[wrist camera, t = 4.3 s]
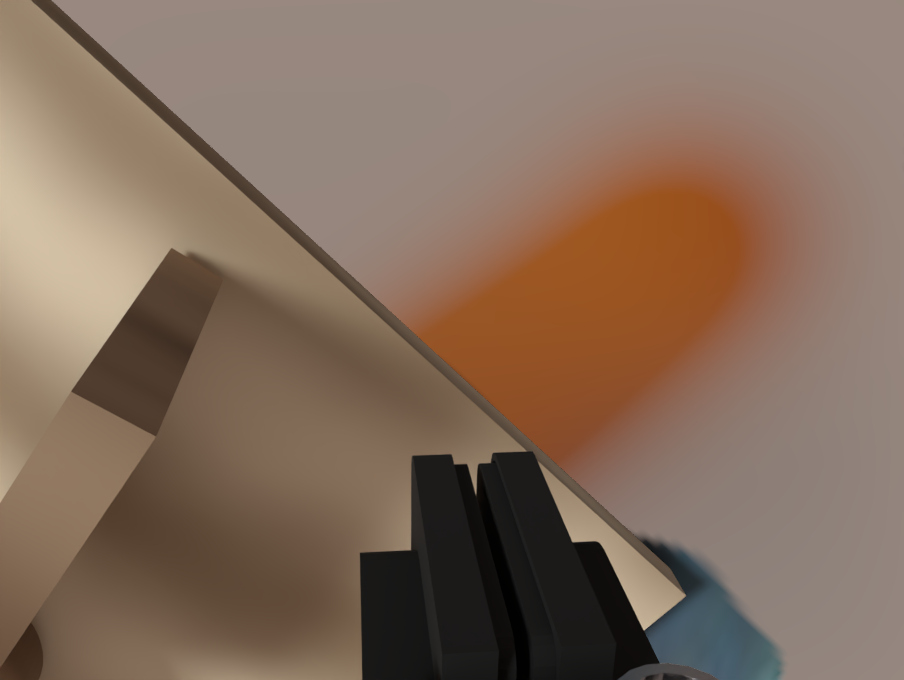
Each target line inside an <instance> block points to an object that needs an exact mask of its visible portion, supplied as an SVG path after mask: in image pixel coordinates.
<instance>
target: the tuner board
mask: <svg viewBox="0 0 904 680" xmlns="http://www.w3.org/2000/svg"><path fill="white" fill-rule="evenodd" d="M171 248H173V249H175V250H176V251H178V252H179V253H181V254H183V255H184V256H186V257H188V258H189V259H191V260H193V261H194V262H196V263H198V264H199V265H201V266H203V267H204V268H206V269H207V270H209V271H211V272H212V273H214V274H216V275H217V276H219V277H221V278H222V279H223V282H222V284H221V286H220V289H219V291H218V293H217V296H216V298H215V300H214V303H213V305H212V307H211V310H210V312H209V314H208V317H207V319H206V322H205V324H204V326H203V329H202V331H201V333H200V336H199V338H198V340H197V343H196V345H195V347H194V350H193V352H192V354H191V357H190V359H189V361H188V364H187V366H186V368H185V371H184V373H183V375H182V378H181V380H180V382H179V385H178V387H177V389H176V392H175V394H174V396H173V399H172V401H171V403H170V406H169V408H168V410H167V413H166V415H165V417H164V420H163V422H162V424H161V427H160V429H159V431H158V434H157V436H156V438H155V439H154V441H153V442H152V444H151V445H150V447H149V448H148V450H147V451H146V453H145V454H144V456H143V457H142V459H141V460H140V461H139V463H138V464H137V466H136V467H135V469H134V470H133V472H132V473H131V475H130V476H129V478H128V479H127V481H126V482H125V484H124V485H123V487H122V488H121V490H120V491H119V493H118V494H117V496H116V497H115V499H114V500H113V501H112V503H111V504H110V506H109V507H108V509H107V510H106V512H105V513H104V515H103V516H102V518H101V519H100V521H99V522H98V524H97V525H96V527H95V528H94V530H93V531H92V533H91V534H90V536H89V537H88V538H87V540H86V541H85V543H84V544H83V546H82V547H81V549H80V550H79V552H78V553H77V555H76V556H75V558H74V559H73V561H72V562H71V564H70V565H69V567H68V568H67V570H66V571H65V573H64V574H63V576H62V577H61V578H60V580H59V581H58V583H57V584H56V586H55V587H54V589H53V590H52V592H51V593H50V595H49V596H48V598H47V599H46V601H45V602H44V604H43V605H42V607H41V608H40V610H39V611H38V613H37V614H36V615H35V617H34V618H33V620H32V621H31V623H32V625H33V626H34V628H35V630H36V632H37V634H38V636H39V639H40V642H41V645H42V651H43V666H42V671H41V675H40V678H39V680H362V641H361V589H360V553H361V552H382V551H402V550H411V461H412V456H414V455H442V454H452V457H453V461H454V464H467V465H468V468H469V472H470V475H471V479H472V483H473V486H474V490H475V494H476V488H477V468H478V464H479V463H491V458H492V454H493V453H497V452H524V451H533V453H534V454H535V457H536V459H537V461H538V463H539V466H540V468H541V470H542V473H543V475H544V477H545V480H546V482H547V484H548V487H549V489H550V491H551V494H552V496H553V498H554V500H555V503H556V505H557V507H558V510H559V512H560V514H561V517H562V519H563V521H564V524H565V526H566V528H567V531H568V533H569V535H570V537H571V540H572V542H587V541H597V542H599V543H600V544H601V545H602V547H603V548H604V550H605V552H606V554H607V556H608V558H609V560H610V562H611V564H612V566H613V569H614V571H615V573H616V575H617V577H618V579H619V581H620V583H621V585H622V587H623V589H624V591H625V593H626V595H627V597H628V599H629V601H630V603H631V605H632V608H633V610H634V612H635V614H636V616H637V618H638V620H639V622H640V624H641V626H642V628H643V630H645V629H646V628H648V627H649V626H650V625H651V624H653V623H654V622H655V621H656V620H657V619H659V618H660V617H661V616H662V615H664V614H665V613H666V612H667V611H668V610H670V609H671V608H672V607H673V606H675V605H676V604H677V603H678V602H679V601H681V600H682V599H683V598H684V597H686V595H685V593H684V591H683V590H682V588H681V586H680V584H679V583H678V581H677V579H676V578H675V576H674V574H673V573H672V571H671V569H670V568H669V567H668V566H667V565H666V564H665V563H664V562H663V561H661V560H660V559H659V558H658V557H657V556H656V555H655V554H654V553H653V552H652V551H651V550H650V549H648V548H647V547H646V546H645V545H644V544H643V543H642V542H641V541H640V540H639V539H638V538H636V537H635V536H634V535H633V534H632V533H631V532H630V531H629V530H628V529H627V528H626V527H624V526H623V525H622V524H621V523H620V522H619V521H618V520H617V519H616V518H615V517H614V516H612V515H611V514H610V513H609V512H608V511H607V510H606V509H605V508H604V507H603V506H602V505H600V504H599V503H598V502H597V501H596V500H595V499H594V498H593V497H592V496H591V495H590V494H588V493H587V492H586V491H585V490H584V489H583V488H582V487H581V486H580V485H579V484H577V483H576V482H575V481H574V480H573V479H572V478H571V477H570V476H569V475H568V474H567V473H566V472H565V471H563V470H562V469H561V468H560V467H559V466H558V465H557V464H556V463H555V462H554V461H552V460H551V459H550V458H549V457H548V456H547V455H546V454H545V453H544V452H543V451H542V450H541V449H539V448H538V447H537V446H536V445H535V444H534V443H533V442H532V441H531V440H530V439H529V438H527V437H526V436H525V435H524V434H523V433H522V432H521V431H520V430H519V429H518V428H517V427H515V426H514V425H513V424H512V423H511V422H510V421H509V420H508V419H507V418H506V417H505V416H503V415H502V414H501V413H500V412H499V411H498V410H497V409H496V408H495V407H494V406H493V405H491V404H490V403H489V402H488V401H487V400H486V399H485V398H484V397H483V396H482V395H481V394H480V393H478V392H477V391H476V390H475V389H474V388H473V387H472V386H471V385H470V384H469V383H468V382H466V381H465V380H464V379H463V378H462V377H461V376H460V375H459V374H458V373H457V372H456V371H454V370H453V369H452V368H451V367H450V366H449V365H448V364H447V363H446V362H445V361H444V360H442V359H441V358H440V357H439V356H438V355H437V354H436V353H435V352H434V351H433V350H431V349H430V348H429V347H428V346H427V345H426V344H425V343H424V342H423V341H422V340H421V339H420V338H418V337H417V336H416V335H415V334H414V333H413V332H412V331H411V330H410V329H409V328H408V327H406V326H405V325H404V324H403V323H402V322H401V321H400V320H399V319H398V318H397V317H396V316H394V315H393V314H392V313H391V312H390V311H389V310H388V309H387V308H386V307H385V306H384V305H383V304H381V303H380V302H379V301H378V300H377V299H376V298H375V297H374V296H373V295H372V294H370V293H369V292H368V291H367V290H366V289H365V288H364V287H363V286H362V285H361V284H360V283H359V282H357V281H356V280H355V279H354V278H353V277H352V276H351V275H350V274H349V273H348V272H347V271H345V270H344V269H343V268H342V267H341V266H340V265H339V264H338V263H337V262H336V261H335V260H333V259H332V258H331V257H330V256H329V255H328V254H327V253H326V252H325V251H324V250H322V249H321V248H320V247H319V246H318V245H317V244H316V243H315V242H314V241H313V240H312V239H311V238H310V237H308V236H307V235H306V234H305V233H304V232H303V231H302V230H301V229H300V228H299V227H298V226H296V225H295V224H294V223H293V222H292V221H291V220H290V219H289V218H288V217H287V216H286V215H284V214H283V213H282V212H281V211H280V210H279V209H278V208H277V207H275V206H274V205H273V204H272V203H271V202H270V201H269V200H268V199H267V198H266V197H265V196H264V195H263V194H262V193H260V192H259V191H258V190H257V189H256V188H255V187H254V186H253V185H252V184H251V183H249V182H248V181H247V180H246V179H245V178H244V177H243V176H242V175H241V174H240V173H239V172H238V171H236V170H235V169H234V168H233V167H232V166H231V165H230V164H229V163H228V162H227V161H225V160H224V159H223V158H222V157H221V156H220V155H219V154H218V153H217V152H216V151H215V150H214V149H213V148H211V147H210V146H209V145H208V144H207V143H206V142H205V141H204V140H203V139H202V138H201V137H199V136H198V135H197V134H196V133H195V132H194V131H193V130H192V129H191V128H190V127H188V126H187V125H186V124H185V123H184V122H183V121H182V120H181V119H180V118H179V117H178V116H177V115H175V114H174V113H173V112H172V111H171V110H170V109H169V108H168V107H167V106H166V105H165V104H163V103H162V102H161V101H160V100H159V99H158V98H157V97H156V96H155V95H154V94H153V93H151V92H150V91H149V90H148V89H147V88H146V87H145V86H144V85H143V84H142V83H141V82H139V81H138V80H137V79H136V78H135V77H134V76H133V75H132V74H131V73H130V72H128V71H127V70H126V69H125V68H124V67H123V66H122V65H121V64H120V63H119V62H118V61H117V60H115V59H114V58H113V57H112V56H111V55H110V54H109V53H108V52H107V51H106V50H105V49H104V48H102V47H101V46H100V45H99V44H98V43H97V42H96V41H95V40H94V39H93V38H91V37H90V36H89V35H88V34H87V33H86V32H85V31H84V30H83V29H82V28H81V27H79V26H78V25H77V24H76V23H75V22H74V21H73V20H72V19H71V18H70V17H69V16H68V15H66V14H65V13H64V12H63V11H62V10H61V9H60V8H59V7H58V6H57V5H56V4H54V3H53V2H52V1H51V0H0V502H1V501H2V499H3V498H4V496H5V495H6V493H7V491H8V490H9V488H10V487H11V485H12V484H13V482H14V480H15V479H16V477H17V476H18V474H19V472H20V471H21V469H22V468H23V466H24V465H25V463H26V461H27V460H28V458H29V457H30V455H31V454H32V452H33V450H34V449H35V447H36V446H37V444H38V443H39V441H40V439H41V438H42V436H43V435H44V433H45V432H46V430H47V428H48V427H49V425H50V424H51V422H52V420H53V419H54V417H55V416H56V414H57V413H58V411H59V409H60V408H61V406H62V405H63V403H64V402H65V400H66V398H67V397H68V395H69V394H70V392H71V391H72V389H73V388H74V386H75V385H76V384H77V382H78V381H79V379H80V378H81V376H82V375H83V373H84V372H85V371H86V369H87V368H88V366H89V365H90V363H91V362H92V361H93V359H94V358H95V356H96V355H97V353H98V352H99V351H100V349H101V348H102V346H103V345H104V343H105V342H106V341H107V339H108V338H109V336H110V335H111V333H112V332H113V331H114V329H115V328H116V326H117V325H118V323H119V322H120V321H121V319H122V318H123V316H124V315H125V313H126V312H127V311H128V309H129V308H130V306H131V305H132V303H133V302H134V301H135V299H136V298H137V296H138V295H139V293H140V292H141V291H142V289H143V288H144V286H145V285H146V283H147V282H148V281H149V279H150V278H151V276H152V275H153V273H154V272H155V271H156V269H157V268H158V266H159V265H160V263H161V262H162V261H163V259H164V258H165V256H166V255H167V253H168V252H169V251H170V249H171Z"/></svg>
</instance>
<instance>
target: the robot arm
mask: <svg viewBox="0 0 904 680" xmlns="http://www.w3.org/2000/svg"><path fill="white" fill-rule="evenodd" d="M360 589H361V641H362V680H718V679H717V678H715V677H714V676H712V675H710V674H708V673H705V672H703V671H700V670H697V669H694V668H692V667H689V666H683V665H676V664H670V663H661V664H660V663H659V661H658V659H657V657H656V655H655V653H654V651H653V649H652V647H651V644H650V642H649V640H648V638H647V636H646V634H645V632H644V630H643V628H642V626H641V624H640V622H639V620H638V618H637V616H636V614H635V612H634V610H633V608H632V605H631V603H630V601H629V599H628V597H627V595H626V593H625V591H624V589H623V587H622V585H621V583H620V581H619V579H618V577H617V575H616V573H615V571H614V569H613V566H612V564H611V562H610V560H609V558H608V556H607V554H606V552H605V550H604V548H603V547H602V545H601V544H600V543H599V542H597V541H587V542H572V540H571V537H570V535H569V533H568V531H567V528H566V526H565V524H564V521H563V519H562V517H561V514H560V512H559V510H558V507H557V505H556V503H555V500H554V498H553V496H552V494H551V491H550V489H549V487H548V484H547V482H546V480H545V477H544V475H543V473H542V470H541V468H540V466H539V463H538V461H537V459H536V457H535V454H534V453H533V451H524V452H497V453H493V454H492V458H491V463H479V464H478V468H477V488H476V494H475V490H474V486H473V483H472V479H471V475H470V472H469V468H468V465H467V464H454V461H453V457H452V454H442V455H414V456H412V461H411V550H402V551H382V552H361V553H360Z"/></svg>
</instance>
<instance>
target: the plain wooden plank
mask: <svg viewBox="0 0 904 680" xmlns="http://www.w3.org/2000/svg"><path fill="white" fill-rule="evenodd" d="M222 282H223V279H222V278H221V277H219V276H217V275H216V274H214V273H212V272H211V271H209V270H207V269H206V268H204V267H203V266H201V265H199V264H198V263H196V262H194V261H193V260H191V259H189V258H188V257H186V256H184V255H183V254H181V253H179V252H178V251H176V250H175V249H173V248H171V249H170V251H169V252H168V253H167V255H166V256H165V258H164V259H163V261H162V262H161V263H160V265H159V266H158V268H157V269H156V271H155V272H154V273H153V275H152V276H151V278H150V279H149V281H148V282H147V283H146V285H145V286H144V288H143V289H142V291H141V292H140V293H139V295H138V296H137V298H136V299H135V301H134V302H133V303H132V305H131V306H130V308H129V309H128V311H127V312H126V313H125V315H124V316H123V318H122V319H121V321H120V322H119V323H118V325H117V326H116V328H115V329H114V331H113V332H112V333H111V335H110V336H109V338H108V339H107V341H106V342H105V343H104V345H103V346H102V348H101V349H100V351H99V352H98V353H97V355H96V356H95V358H94V359H93V361H92V362H91V363H90V365H89V366H88V368H87V369H86V371H85V372H84V373H83V375H82V376H81V378H80V379H79V381H78V382H77V384H76V385H75V386H74V388H73V389H72V391H71V392H70V394H69V395H68V397H67V398H66V400H65V402H64V403H63V405H62V406H61V408H60V409H59V411H58V413H57V414H56V416H55V417H54V419H53V420H52V422H51V424H50V425H49V427H48V428H47V430H46V432H45V433H44V435H43V436H42V438H41V439H40V441H39V443H38V444H37V446H36V447H35V449H34V450H33V452H32V454H31V455H30V457H29V458H28V460H27V461H26V463H25V465H24V466H23V468H22V469H21V471H20V472H19V474H18V476H17V477H16V479H15V480H14V482H13V484H12V485H11V487H10V488H9V490H8V491H7V493H6V495H5V496H4V498H3V499H2V501H1V502H0V680H39V678H40V675H41V671H42V666H43V651H42V645H41V642H40V639H39V636H38V634H37V632H36V630H35V628H34V626H33V625H32V623H31V621H32V620H33V618H34V617H35V615H36V614H37V613H38V611H39V610H40V608H41V607H42V605H43V604H44V602H45V601H46V599H47V598H48V596H49V595H50V593H51V592H52V590H53V589H54V587H55V586H56V584H57V583H58V581H59V580H60V578H61V577H62V576H63V574H64V573H65V571H66V570H67V568H68V567H69V565H70V564H71V562H72V561H73V559H74V558H75V556H76V555H77V553H78V552H79V550H80V549H81V547H82V546H83V544H84V543H85V541H86V540H87V538H88V537H89V536H90V534H91V533H92V531H93V530H94V528H95V527H96V525H97V524H98V522H99V521H100V519H101V518H102V516H103V515H104V513H105V512H106V510H107V509H108V507H109V506H110V504H111V503H112V501H113V500H114V499H115V497H116V496H117V494H118V493H119V491H120V490H121V488H122V487H123V485H124V484H125V482H126V481H127V479H128V478H129V476H130V475H131V473H132V472H133V470H134V469H135V467H136V466H137V464H138V463H139V461H140V460H141V459H142V457H143V456H144V454H145V453H146V451H147V450H148V448H149V447H150V445H151V444H152V442H153V441H154V439H155V438H156V436H157V434H158V431H159V429H160V427H161V424H162V422H163V420H164V417H165V415H166V413H167V410H168V408H169V406H170V403H171V401H172V399H173V396H174V394H175V392H176V389H177V387H178V385H179V382H180V380H181V378H182V375H183V373H184V371H185V368H186V366H187V364H188V361H189V359H190V357H191V354H192V352H193V350H194V347H195V345H196V343H197V340H198V338H199V336H200V333H201V331H202V329H203V326H204V324H205V322H206V319H207V317H208V314H209V312H210V310H211V307H212V305H213V303H214V300H215V298H216V296H217V293H218V291H219V289H220V286H221V284H222Z"/></svg>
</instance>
